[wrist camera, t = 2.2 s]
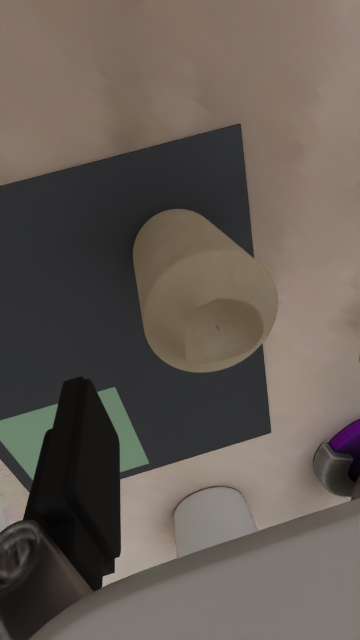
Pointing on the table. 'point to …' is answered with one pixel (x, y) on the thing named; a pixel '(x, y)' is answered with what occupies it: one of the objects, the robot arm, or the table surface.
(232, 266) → the candle
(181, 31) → the table surface
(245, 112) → the table surface
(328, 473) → the webcam
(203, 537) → the candle holder
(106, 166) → the desk pad
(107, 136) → the table surface
